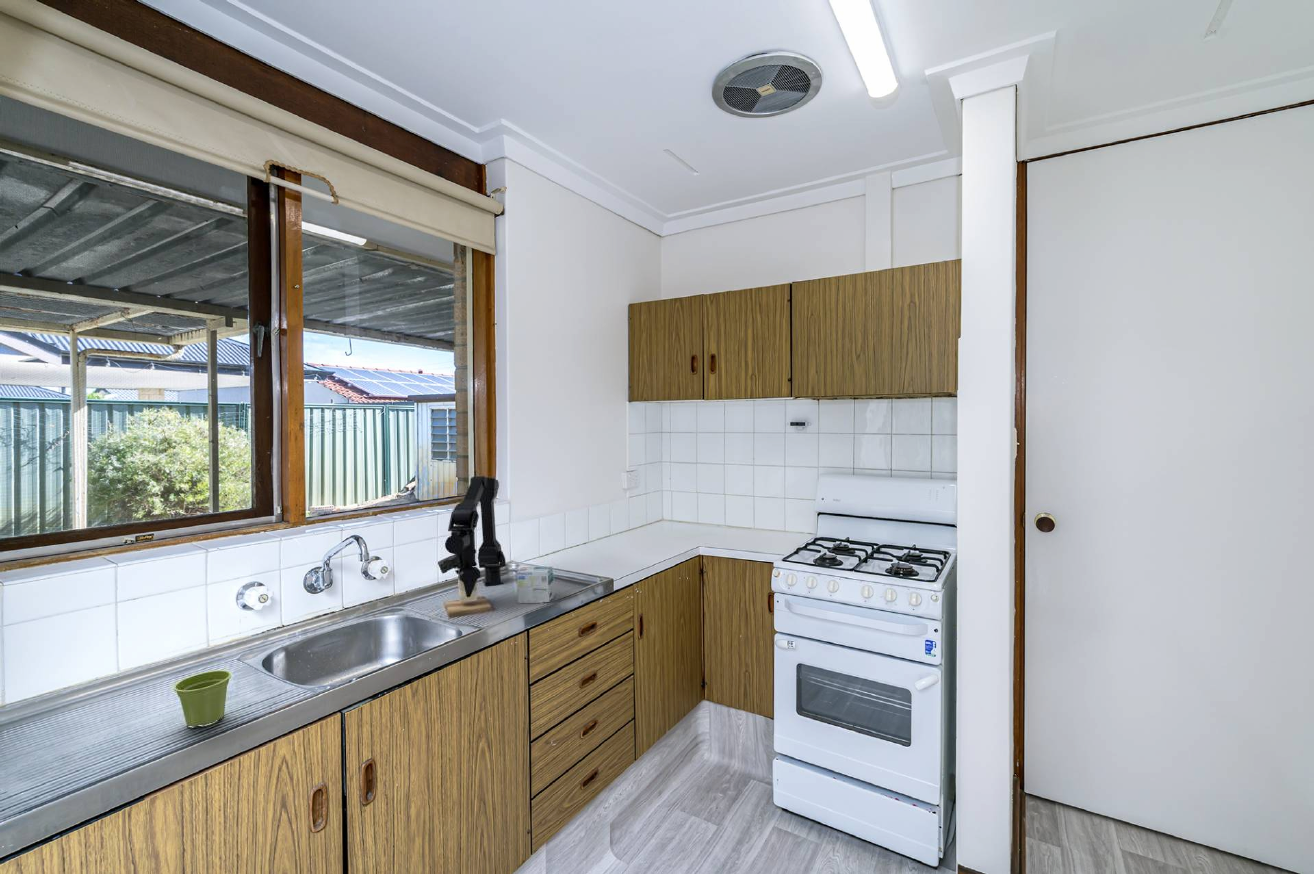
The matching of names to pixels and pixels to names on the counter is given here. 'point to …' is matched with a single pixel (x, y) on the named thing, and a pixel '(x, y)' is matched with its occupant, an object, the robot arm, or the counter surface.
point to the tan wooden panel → (467, 607)
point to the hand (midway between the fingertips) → (467, 594)
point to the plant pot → (203, 696)
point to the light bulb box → (535, 584)
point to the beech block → (463, 594)
